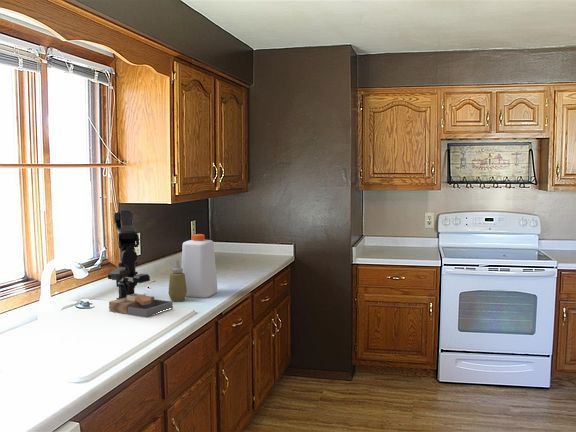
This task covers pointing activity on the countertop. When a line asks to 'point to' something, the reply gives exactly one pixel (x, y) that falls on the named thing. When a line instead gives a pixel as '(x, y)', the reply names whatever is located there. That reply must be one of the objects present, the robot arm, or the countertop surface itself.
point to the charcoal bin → (149, 308)
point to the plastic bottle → (199, 267)
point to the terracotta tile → (143, 299)
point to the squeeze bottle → (177, 284)
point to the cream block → (132, 297)
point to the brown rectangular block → (122, 305)
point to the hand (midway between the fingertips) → (129, 296)
